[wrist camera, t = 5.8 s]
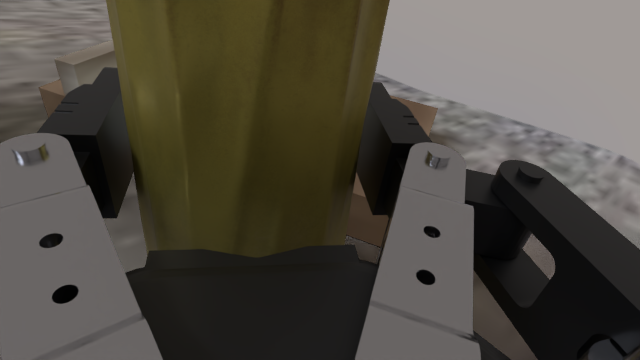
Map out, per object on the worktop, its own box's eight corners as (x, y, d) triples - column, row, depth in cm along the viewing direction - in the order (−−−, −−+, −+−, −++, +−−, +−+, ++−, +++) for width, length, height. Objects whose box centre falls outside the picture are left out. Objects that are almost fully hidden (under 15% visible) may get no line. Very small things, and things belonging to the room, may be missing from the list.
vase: (244, 460, 11) (260, -366, 3) (120, 326, 14) (-77, -296, 5) (362, 318, 15) (520, -179, 7) (249, 236, 18) (258, -194, 9)
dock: (52, 128, 23) (26, 50, 20) (175, 68, 31) (169, 8, 28) (390, 250, 18) (416, 171, 15) (426, 141, 27) (447, 78, 24)
